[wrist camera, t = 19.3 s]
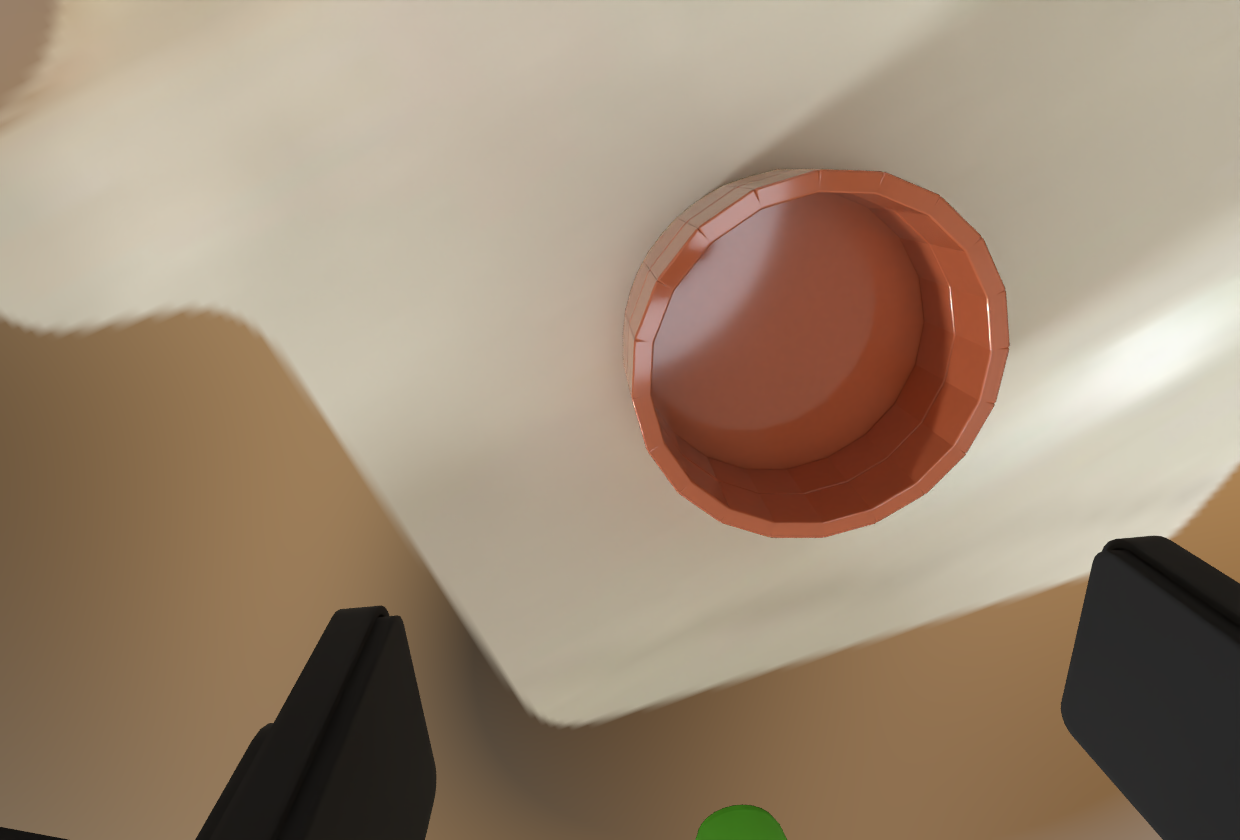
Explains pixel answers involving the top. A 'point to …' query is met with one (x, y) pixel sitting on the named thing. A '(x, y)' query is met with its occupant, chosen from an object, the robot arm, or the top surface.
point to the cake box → (23, 835)
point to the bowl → (814, 348)
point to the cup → (740, 825)
